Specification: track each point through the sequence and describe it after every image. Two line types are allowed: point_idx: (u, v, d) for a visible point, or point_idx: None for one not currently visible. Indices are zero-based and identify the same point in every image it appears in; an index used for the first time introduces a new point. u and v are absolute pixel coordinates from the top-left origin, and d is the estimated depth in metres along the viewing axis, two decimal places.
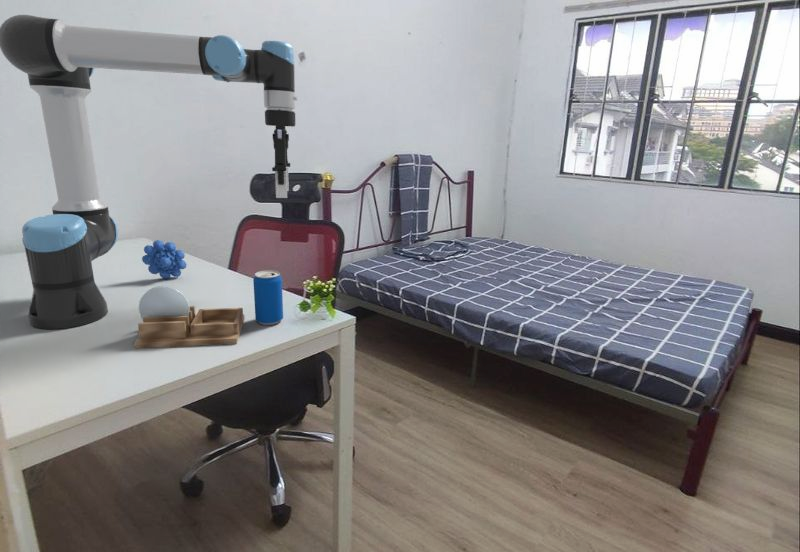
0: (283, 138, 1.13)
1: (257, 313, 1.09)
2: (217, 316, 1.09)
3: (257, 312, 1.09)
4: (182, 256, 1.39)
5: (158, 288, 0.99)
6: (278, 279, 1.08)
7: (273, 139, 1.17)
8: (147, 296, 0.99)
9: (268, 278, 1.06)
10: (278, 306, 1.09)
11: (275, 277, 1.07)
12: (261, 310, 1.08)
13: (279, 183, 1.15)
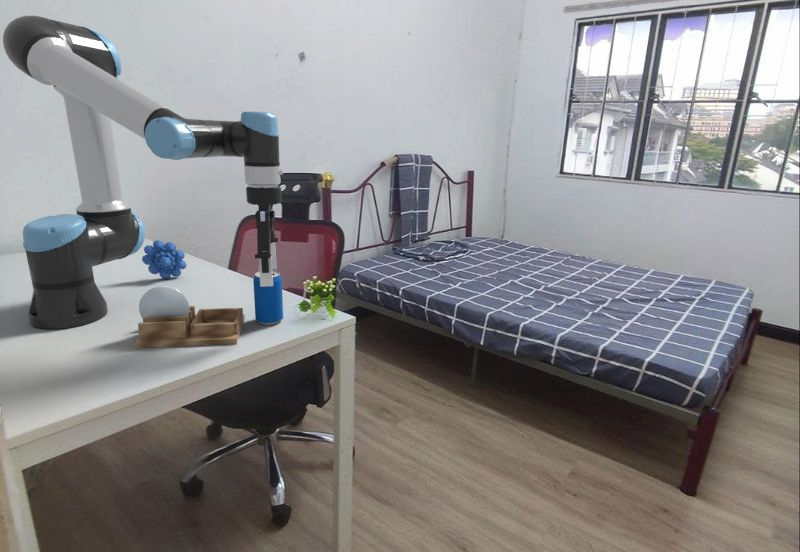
0: (267, 221, 0.98)
1: (257, 313, 1.09)
2: (217, 316, 1.09)
3: (257, 312, 1.09)
4: (182, 256, 1.39)
5: (158, 288, 0.99)
6: (278, 279, 1.08)
7: (256, 219, 1.03)
8: (147, 296, 0.99)
9: None
10: (278, 306, 1.09)
11: (275, 277, 1.07)
12: (261, 310, 1.08)
13: (263, 271, 1.00)
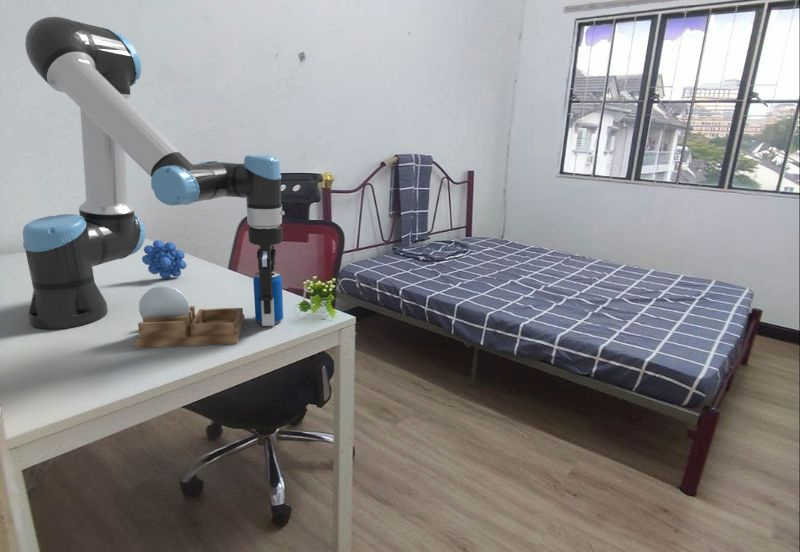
0: (268, 267, 1.02)
1: (257, 313, 1.09)
2: (217, 316, 1.09)
3: (257, 312, 1.09)
4: (182, 256, 1.39)
5: (158, 288, 0.99)
6: (278, 279, 1.08)
7: None
8: (147, 296, 0.99)
9: None
10: (278, 306, 1.09)
11: (275, 277, 1.07)
12: (261, 310, 1.08)
13: (265, 312, 1.06)
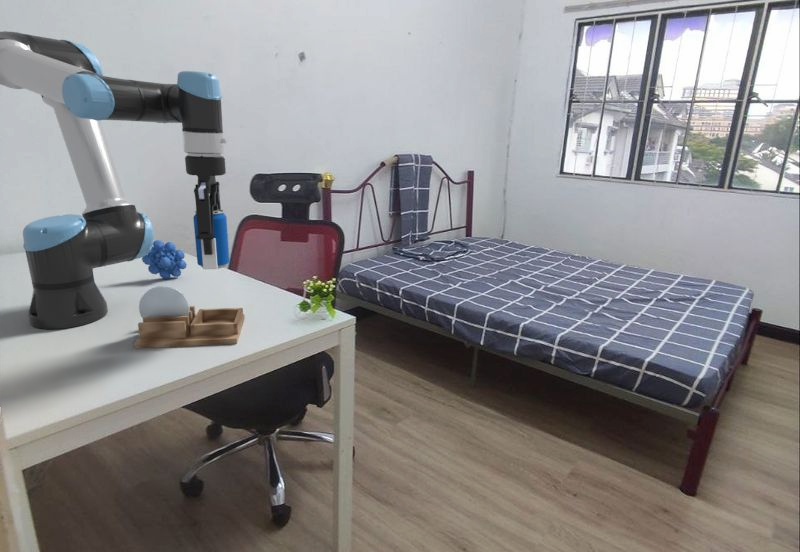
0: (206, 199, 0.91)
1: (198, 255, 0.98)
2: (217, 316, 1.09)
3: (198, 254, 0.98)
4: (182, 256, 1.39)
5: (158, 288, 0.99)
6: (221, 217, 0.97)
7: None
8: (147, 296, 0.99)
9: None
10: (222, 248, 0.98)
11: (217, 214, 0.96)
12: None
13: (206, 253, 0.95)
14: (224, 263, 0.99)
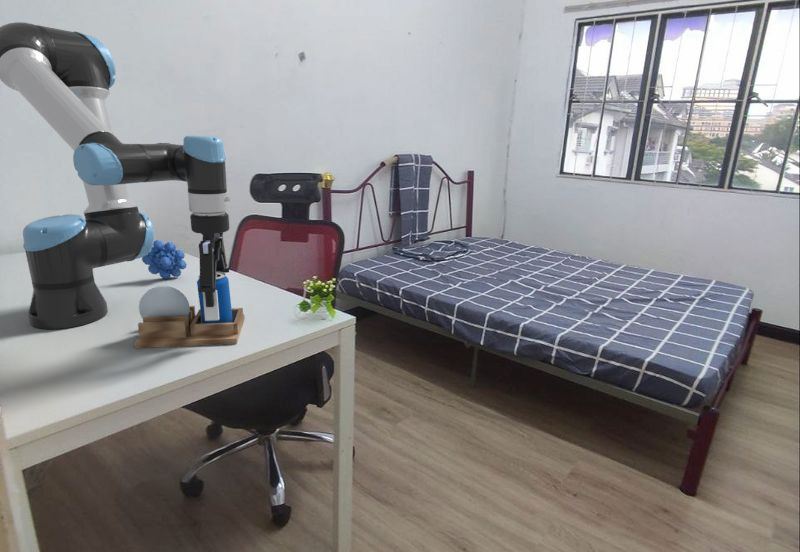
0: (210, 254, 0.93)
1: (202, 317, 1.02)
2: None
3: (202, 316, 1.02)
4: (182, 256, 1.39)
5: (158, 288, 0.99)
6: (223, 281, 1.01)
7: None
8: (147, 296, 0.99)
9: None
10: (224, 310, 1.02)
11: (219, 279, 1.00)
12: None
13: (207, 306, 0.96)
14: None
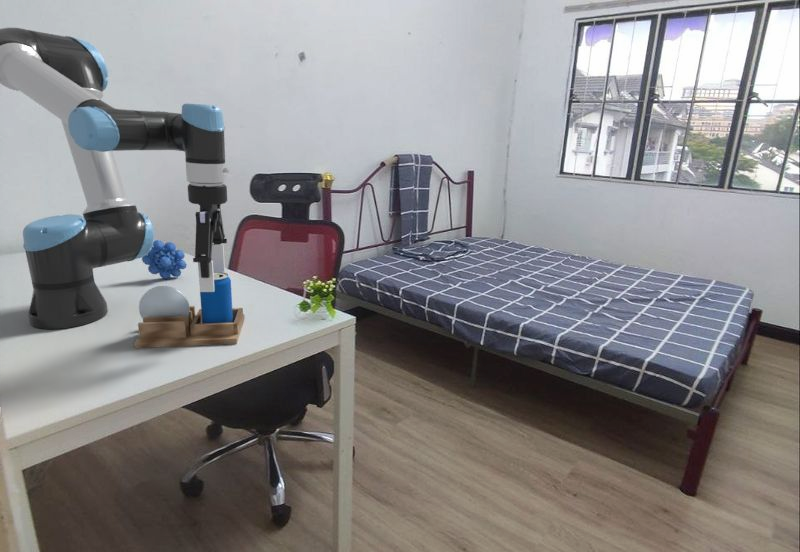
0: (207, 223, 0.92)
1: (203, 317, 1.02)
2: None
3: (203, 316, 1.02)
4: (182, 256, 1.39)
5: (158, 288, 0.99)
6: (225, 281, 1.01)
7: None
8: (147, 296, 0.99)
9: None
10: (225, 310, 1.02)
11: (222, 279, 1.00)
12: (206, 314, 1.01)
13: (202, 276, 0.93)
14: None
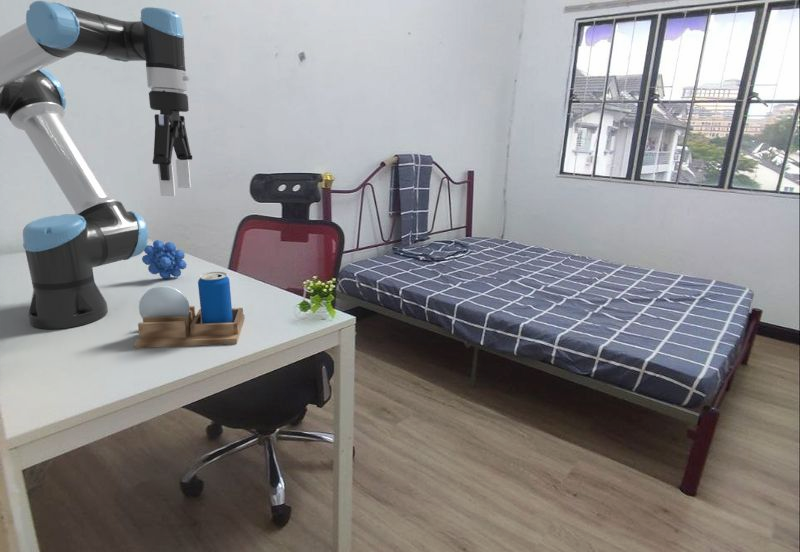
0: (166, 125, 0.95)
1: (202, 317, 1.02)
2: None
3: (202, 316, 1.02)
4: (182, 256, 1.39)
5: (158, 288, 0.99)
6: (224, 281, 1.01)
7: None
8: (147, 296, 0.99)
9: (212, 280, 0.99)
10: (224, 310, 1.02)
11: (220, 279, 1.00)
12: (206, 314, 1.01)
13: (162, 178, 0.96)
14: None
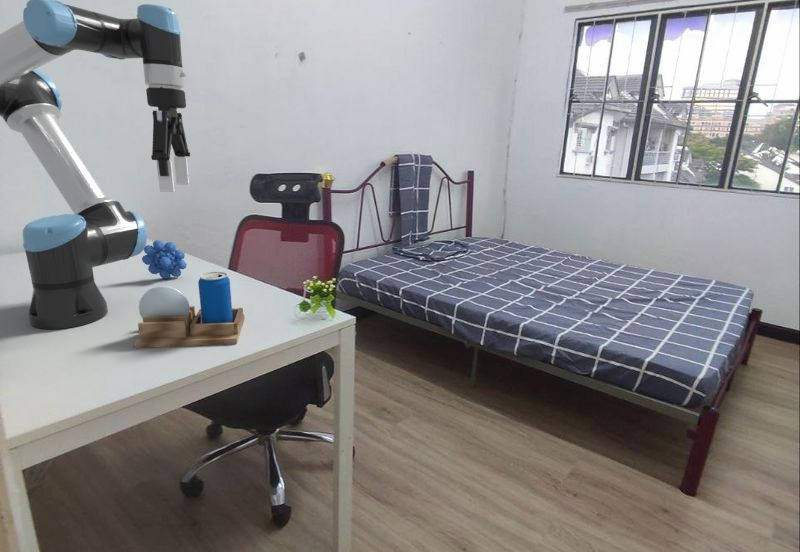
0: (164, 121, 0.95)
1: (203, 317, 1.02)
2: None
3: (202, 316, 1.02)
4: (182, 256, 1.39)
5: (158, 288, 0.99)
6: (224, 281, 1.01)
7: None
8: (147, 296, 0.99)
9: (212, 280, 0.99)
10: (225, 310, 1.02)
11: (220, 279, 1.00)
12: (206, 314, 1.01)
13: (161, 174, 0.97)
14: None
